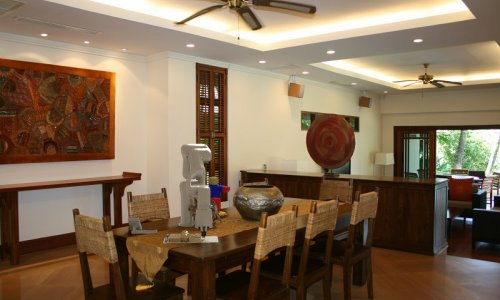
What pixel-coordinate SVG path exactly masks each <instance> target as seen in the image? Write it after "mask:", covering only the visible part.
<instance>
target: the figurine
mask: <svg viewBox="0 0 500 300" xmlns="http://www.w3.org/2000/svg"><path fill="white" fill-rule="evenodd" d="M208 182H209V183H208V184H209V185H207V186H208V187H209V188H210V200H213V201H215V204H216V206H217V210H218V213H219V217H220V216H221V217H225V216H224V215H226V216H228V213H227V212H225V211H222V210H221V211H220V209H221V207H222V198H221V195H220V194H221V193H229V192H230V190H231V186H226V185H221V184H220V185H219V177H218V176H217V177H216V176H211V177H209V179H208ZM221 217H220V218H221Z"/></svg>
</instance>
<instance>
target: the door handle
mask: <svg viewBox="0 0 500 300" xmlns="http://www.w3.org/2000/svg"><path fill="white" fill-rule="evenodd" d="M127 222H128V224H129V227H130V230H131V235H139V234H140V235H141V234H142V235H143V234H145V235H147V234H158V229H151V230H149V229H148V230H146V229H143V227H142V224H141V221H140V218H139V217H133V218H132V217H130V218H127Z"/></svg>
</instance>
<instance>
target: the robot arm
mask: <svg viewBox="0 0 500 300" xmlns="http://www.w3.org/2000/svg"><path fill="white" fill-rule="evenodd" d="M180 154H181V157H182V171H181V172H182V178H183V179H184V180H182V181H181V182H180V183H179V191H180V194H179V195H180V222H179V223H178V224H177V225H178V226H179V227H183V228H189V227H194V224H195V229H198V230H199V231H200V233H201V237H202V238H205V236H207V231H208V230H210V229H211V228H213V226H212V210H211V209H210V208H211V207H213V205H210V188H209V187H208V186H209V185H207V184H206V168H205V165H204V162H210V161H212V151H211V149H210V148H209V146H208V145H207V144H204V143H185V144H182V145H181V147H180ZM195 198H197V201H198V208H197V209H196V212H195V213H196V215H194V216H192V213H193V212H192V211H188V208H189V207H190V208H191V206H195V203H194V201H195ZM191 209H193V208H191ZM193 218H195V220H193ZM204 226H205V228H204Z"/></svg>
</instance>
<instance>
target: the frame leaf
mask: <svg viewBox="0 0 500 300" xmlns="http://www.w3.org/2000/svg"><path fill="white" fill-rule="evenodd" d="M184 232H188V233H189V231H188V230H186V229H184V230H182V232H181V233H170V234H169V243H168V244H174V243H173V242H181V241H182V242H187V241H188V239H189V236H188V234H186V233H184ZM183 233H184V234H183ZM189 234H190V233H189Z"/></svg>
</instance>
